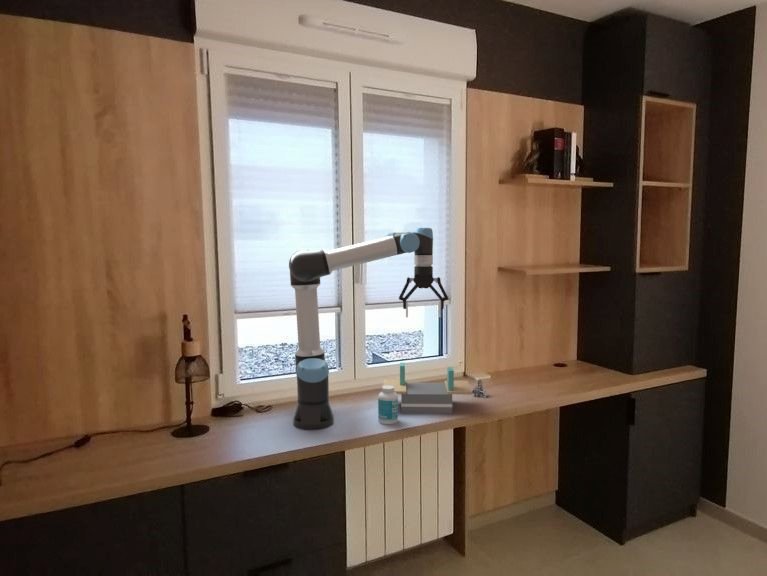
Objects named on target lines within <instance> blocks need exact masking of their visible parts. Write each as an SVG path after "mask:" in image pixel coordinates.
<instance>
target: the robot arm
mask: <svg viewBox="0 0 767 576" xmlns="http://www.w3.org/2000/svg"><path fill="white" fill-rule="evenodd" d="M413 230H414V231H413V232H411V231H406V232H387V233H386V235H385V237H382V238H378V239H372V240H369V241H364V242H360V243H355V244H352V245H347V246H344V247H339V248H334V249H331V250H326V249H325V248H323V249H319V250H308V249H300V250H296V252H294V253H293V254H292V255H291V256H290V258H289V260H288V268H289V279H290V287H292V288H293V289H294V295H295V296H294V297H295V308H296V309H295V311H296V312H295V313H296V331H297V342H298V343H297V345H298V346H297V347H298V349H297V350H296V352H295V353H294V359H295V374H296V382H297V383H296V384H297V393H296V394H297V404H296V409H295V412H294V415H293V418H292V420H293V421H292V422H293V426H294V427H295V428H297V429H300V430H304V431H305V430H306V431H315V430H323V429H327V428H329V427H331V426H332V425H333V424H334V422H335V419H334V418H335V415H334V413H333V410H332V407H331V405H330V397H329V396H330V394H329V389H330V388H329V382H330V381H329V380H330V379H329V372H330V368H329V365H328V362H327V361H326V355H325V350H324V349H322V348H321V339H320V338H321V335H320V333H321V332H320V317H319V303H318V301H319V300H318V288H319V287H320V285H321V278H323V277H325V276H330V275H331V274H332V273H333V272H334V271H339V270H342V269H348V268H349V267H355V266H358V265H361V264H367V263H371V262H374V261H377V260H381V259H382V260H383V259H387V258H390V257H393V256H398V255H404V254H406V253H408V254H411V253H414V256H413V257H414V258H413V259H414V260H413V261H414V270H413V271H414V273H413V274H414V276H413V277H409V276H407V277H406V283H405V285H404V287H403V288H402V291H401V293H400V294H399V297H398V299H399V301H402V303H403V304H402V308H403V310H405V318H408V317H409V301H408V299H410V297H411V296H412V294H413V293H414V292H415V290H417V289H418V288H419V289H429V288H430V290H431V291H433V293H434V295H435V296H436V297H437V298H438V299H439V300H438V318H442V310H444V308H445V307H444V306H445V301H447V300H449V296H448V295H447V292H446V291H445V288H444V287H443V284H442V281H441V278H440V277H439V276H438V277H434V275H433V274H434V273H433V272H434V269H433V268H434V267H433V266H432V265H433V264H434V259H433V258H434V255H433V254H434V253H433V250H434V247H433V245H434V233H433V229H432V228H431V227H415V228H414V229H413ZM412 282H414V285H413V287H412V288H411V289H410V290H409V292H407V294H406V295H405V293H406V291H407V289H408V288H409V286H410V284H411V283H412ZM434 282H435V283H436V284H437V286H438V287H439V290H440V291H441V293H442V296H443V297H442V296H441V294H440V293H439V291H437V289H436V288H435V287H434V286H433V285H432V284H433V283H434Z"/></svg>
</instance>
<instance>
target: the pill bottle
mask: <svg viewBox="0 0 767 576" xmlns="http://www.w3.org/2000/svg"><path fill="white" fill-rule="evenodd" d="M377 396H378V398H377V404H378V405H377V406H378V407H377V408H378V409H377V411H378V412H377V413H378V414H377V416H378V417H377V419H378V420H377V421H378V423H380V424H381V425H388V426H389V425H394V424H396V423H397V422H399V421H398V420H399V419H398V418H399V414H398V413H399V410H398V409H399V408H398V407H399V402H398V401H399V394H397V393H395V392H394V387H393V386H383V385H382V386H381V391H380V392H379V394H378V395H377Z"/></svg>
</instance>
